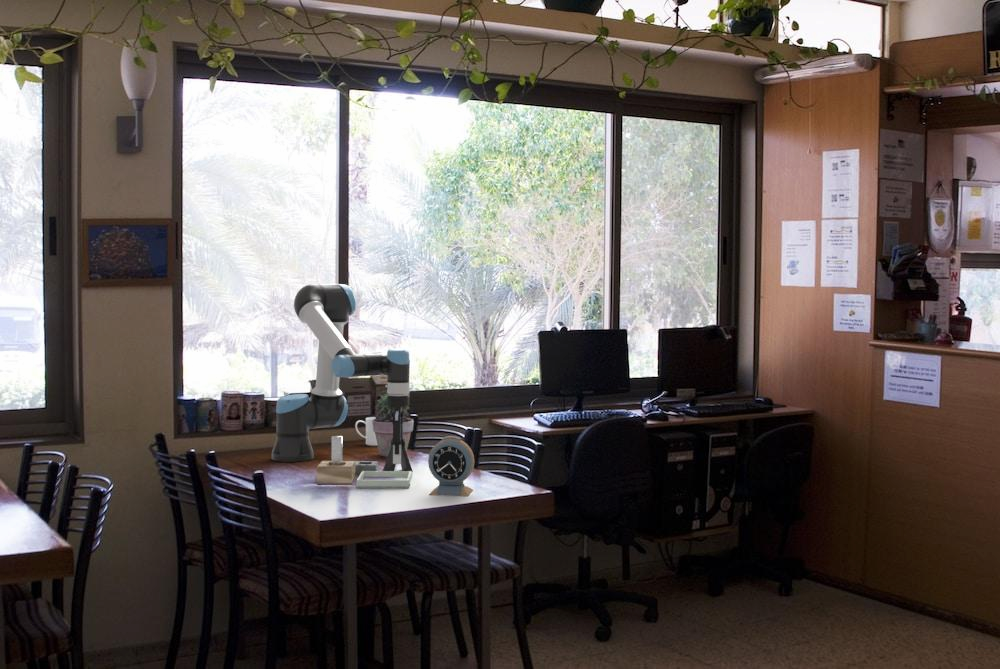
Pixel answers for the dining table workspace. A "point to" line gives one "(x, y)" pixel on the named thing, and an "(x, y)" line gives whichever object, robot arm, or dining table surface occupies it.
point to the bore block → (335, 473)
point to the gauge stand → (365, 466)
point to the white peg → (337, 450)
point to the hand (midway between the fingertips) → (397, 461)
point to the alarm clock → (451, 466)
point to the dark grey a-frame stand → (404, 459)
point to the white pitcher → (368, 432)
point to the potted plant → (389, 426)
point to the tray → (384, 483)
